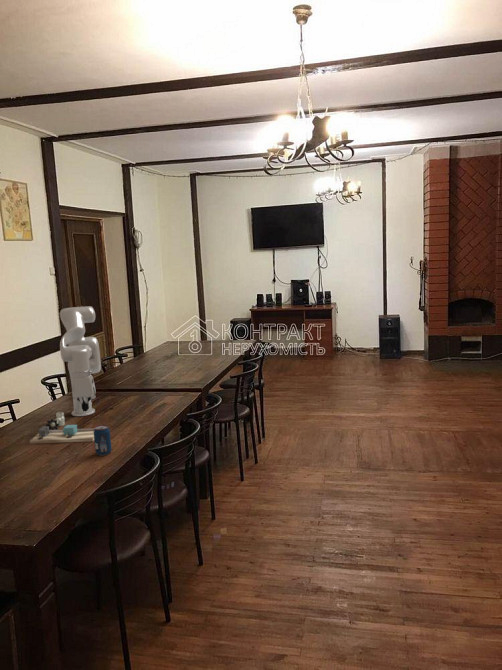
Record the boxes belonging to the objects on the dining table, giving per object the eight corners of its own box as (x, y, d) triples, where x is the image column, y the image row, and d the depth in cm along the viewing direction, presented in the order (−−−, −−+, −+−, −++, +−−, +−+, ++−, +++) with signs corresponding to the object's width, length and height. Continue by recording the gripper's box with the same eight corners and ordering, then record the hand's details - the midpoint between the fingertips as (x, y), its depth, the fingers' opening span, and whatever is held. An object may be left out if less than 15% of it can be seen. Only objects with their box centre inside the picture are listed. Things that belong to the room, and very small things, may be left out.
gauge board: (40, 435, 266) (39, 425, 266) (100, 432, 265) (99, 423, 265) (30, 443, 254) (28, 433, 254) (92, 441, 254) (91, 431, 253)
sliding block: (67, 431, 264) (66, 425, 263) (77, 431, 264) (76, 424, 263) (61, 437, 256) (60, 430, 255) (71, 437, 256) (71, 429, 255)
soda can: (105, 449, 242) (103, 423, 241) (115, 452, 238) (112, 426, 236) (92, 454, 237) (89, 428, 235) (101, 457, 233) (99, 430, 231)
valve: (56, 423, 284) (46, 431, 272) (55, 411, 283) (45, 419, 271) (68, 423, 283) (59, 431, 271) (67, 411, 282) (57, 418, 270)
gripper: (99, 371, 260) (103, 407, 263) (69, 372, 260) (73, 408, 264) (95, 375, 253) (98, 412, 256) (63, 376, 253) (67, 413, 256)
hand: (85, 410), depth 260 cm, fingers closed
